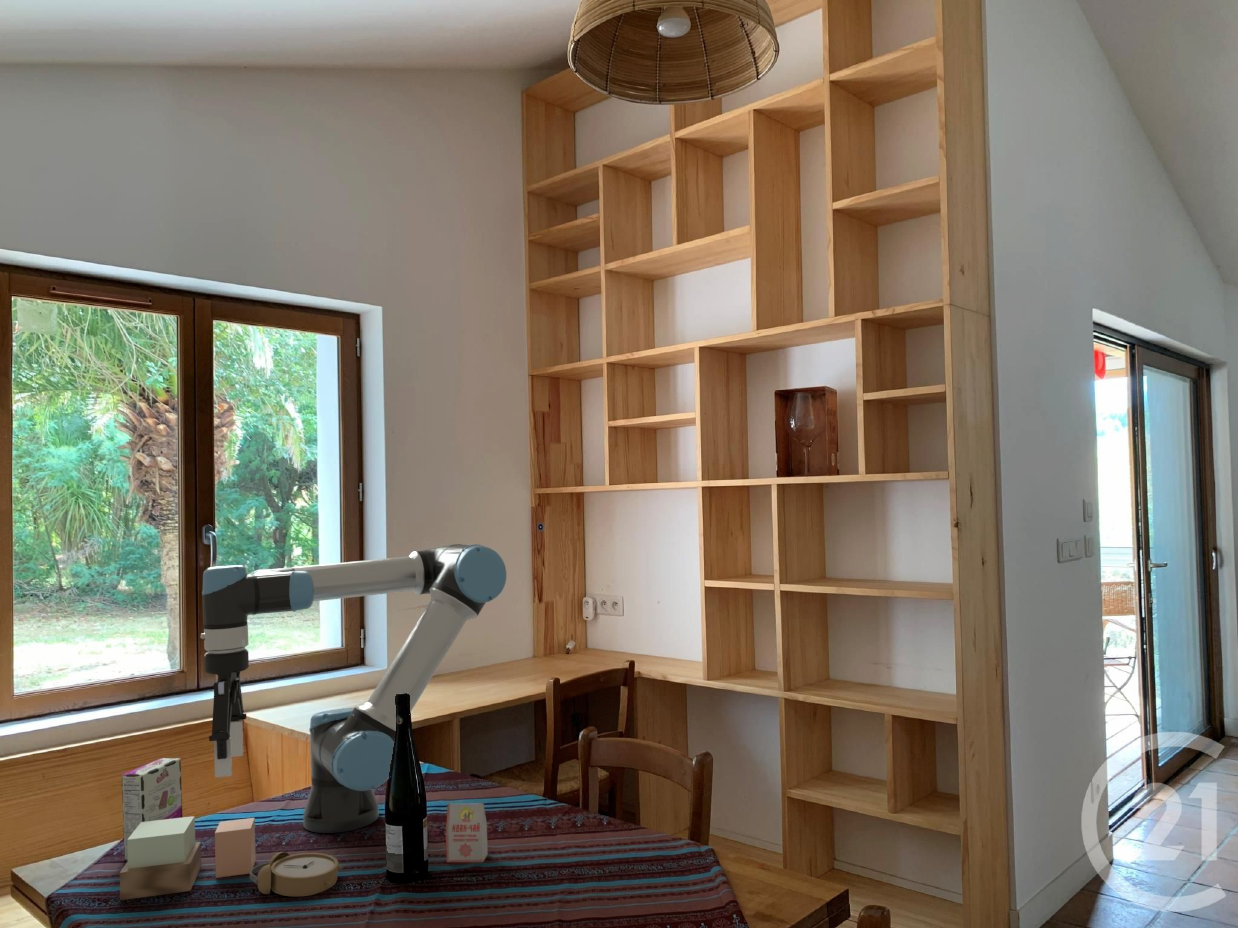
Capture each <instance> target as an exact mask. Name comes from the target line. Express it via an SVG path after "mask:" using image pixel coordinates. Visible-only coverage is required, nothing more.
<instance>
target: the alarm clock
mask: <svg viewBox="0 0 1238 928" xmlns="http://www.w3.org/2000/svg"><path fill="white" fill-rule="evenodd" d="M341 869H344V866H343V865H339V861H338V859H337V858H336V857H334V856H333V855H330V854H326V853H321V852H303V853H295V854H291V855H290V854H289V853H288V852H285V851H280V852H277V853H275V854H274V855H273V856H271V858H270V859H269V861H268V862H264V863H260V864H257V865H254V867H253V868H252V869H251V870H250V873H249V879H250V881H252V882H253V883H254V884H256V885H257V888H258V890H259V892H261V893H262V894H263V895H270V893H271V891H272V892H274V893H275V894H278V895H280V896H287V897H306V896H307V897H308V896H312V895H316V894H318V893H319V894H320V893H323V892H325V891H327V890H328V889H330V888H332V887H333V886H334V885H335V884H337V880H338V871H339V870H341ZM258 871H259V872H258ZM257 872H258V874H257V876H256V875H255V873H257ZM261 893H260V894H261Z"/></svg>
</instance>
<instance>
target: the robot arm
mask: <svg viewBox="0 0 1238 928" xmlns="http://www.w3.org/2000/svg"><path fill="white" fill-rule="evenodd" d="M506 581H507V569H506V565H505V562H504V560H503V558H502V557H501V556H500V554H499V553H498V552H497V551H496V550H494V549H492V548H490V547H487V546H484V545H481V544H460V543H458V544H455V543H454V544H450V545H449V544H448V545H444V546H441V547H437V548H430V549H423V550H415V551H412V552H411V553H410V554H409V555H408V556H401V557H399V556H398V557H388V558H378V559H369V560H368V559H367V560H366V559H365V560H356V561H354V560H353V561H347V562H346V561H344V562H334V563H333V562H332V563H324V564H323V563H322V564H310V565H304V566H303V565H302V566H300V565H299V566H291V567H282V568H270V567H269V568H268V567H266V568H265V567H264V568H259V569H257V570H255V571H252V572H251V573H250V574H248V572H247V569H246V567H245V565H241V564H237V565H235V564H234V565H233V564H232V565H218V566H211V567H207V568H206V569H205V570H204V571H203V574H202V590H201V595H202V616H203V617H202V619H203V621H202V622H203V633H200V636H199V637H200V639H203V640H204V641H203V643H204V644H203V645H204V650H205V651H206V652H205V654H204V655H203V658H204V665H203V666H204V673H206V674H208V675H216V676H217V680H216V682H214V683H213V685H212V686H213V703H212V704H213V706H212V708H213V709H212V710H213V711H212V721H211V723H212V726H211V735H209V736H208V741H209V742H213V748H214V749H213V750H214V751H213V754H214V758H213V759H214V778H223V777H232V776H233V761H232V758H233V757H242V756H244V738H243V737H244V736H243V735H244V734H243V729H244V728H243V727H244V726H243V721H244V720H247V713H244V712H245V710H244V702H243V695H242V685H241V672H243V671H247V670H248V668H249V667H250V663H249V662H250V661H249V658H250V657H249V650H248V649H247V646H249V624H248V616H250V615H252V616H254V615H260V614H261V615H263V614H272V613H274V614H275V613H284V612H293V613H295V612H296V611H302V610H308V609H310V608H311V607H312V605H313V603H314V602H319V601H322V602H323V601H330V600H338V599H339V600H340V599H349V598H357V597H366V596H375V595H383V594H384V595H387V594H394V593H403V592H412V593H413V594H415V595H416V596H417V595H427V594H428V595H430V602H428V605H427V606H426V608H425V609H424V611H423V612H422V614H421V615H420V617H419V619H418V620H417V622H416V623H415V626H414V627H413V629H412V630H411V632H410V634H409V635H408V636H407V638H406V639H405V641H404V642H403V644H402V645H401V647H400V649H399V651H398V652H397V654H396V656H395V657H394V658H393V660H392V661H391V664H389V666H388V668H387V670H386V671H385V673H384V674H383V676H382V678H380V681H379V682H378V684H377V685H376V687H375V689H374V691H373V692H372V694H371V695H370V697H369V698H368V700H367V701H365V703H361V704H359V705H355V706H354V707H345V708H335V709H330V710H324V711H319V712H316V713H314V714H312V716H311V718H310V726H309V729H308V730H309V735H310V736H309V737H310V738H309V739H310V741H309V742H310V773H311V774H310V777H311V778H310V779H311V781H310V782H311V787H310V791H309V795H308V798H307V801H306V804H305V806H304V811H303V817H302V820H303V823H302V825H303V828H304V829H305V830H307V831H309V832H313V833H318V834H319V833H320V834H333V833H334V834H335V833H342V832H343V833H344V832H350V831H355V830H358V829H361V828H363V827H366V826H369V825H371V824H373V823H375V822H376V821H377V820H378V819H379V815H380V814H379V813H380V812H379V808H380V807H379V803H378V799H377V798H376V797H377V796H376V795H375V792H374V789H376V788H378V787H380V786H382V785H383V784H384V783H385V782H387V781H388V780H389V779H390V778H389V772H390V764H391V760H392V754H393V747H394V743H395V731H396V705H395V696H396V694H399V693H407V694H409V695H410V714H411V712H412V710H413V709H414V707H416V704H417V703H418V701H419V700H420V698H421V696H422V695H423V693H424V691H425V690H426V688H427V686H428V684H429V683H430V681H431V679H432V678H433V677H434V674H435V673H436V671H437V670H438V669H439V666H440V665H441V663H442V662H443V660H444V658H445V657H446V655H447V653H448V651H449V650H450V648H451V646H452V645H453V643H454V642H455V640H456V638H457V636H458V635H459V634H460V632H461V630H462V629H463V627H464V625H465V624H466V622H467V621H470V620H473V619H476V618H478V616H479V614H480V613H481V611H482V610H483V608H484V606H485V605H486V603H489V602H491V601H493V600H495V599H496V598H497V597H499V596H500V594H501V593H502V592H503V590H504V588H505V585H506V584H507V583H506Z"/></svg>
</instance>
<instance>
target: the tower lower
mask: <svg viewBox="0 0 1238 928" xmlns="http://www.w3.org/2000/svg"><path fill="white" fill-rule="evenodd" d="M201 869H202V842H201V841H195V845H194V847H193V848H192V850H191V852H190V854H189V855H188V857H187V859H186V860H185V862H181V863H173V864H164V865H156V866H148V867H140V868H132V869H128V860H126V862H125V865H123V867H122V868H121V870H120V871H119V901H123V900H124V901H125V900H132V899H139V898H148V897H154V896H160V895H169V894H177V893H185V892H190V891H191V890H192V888H193V886H194V884H195V882H196V879H197V878H198V875H199V873H200V871H201Z"/></svg>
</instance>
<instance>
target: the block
mask: <svg viewBox="0 0 1238 928" xmlns="http://www.w3.org/2000/svg"><path fill="white" fill-rule="evenodd" d="M255 819H256V818H255V817H250V818H242V819H241V818H240V819H233V820H225V821H219V823H218V826H217V827H216V830H215V831H214V846H215V847H214V848H215V849H214V851H215V852H214V853H215V855H214V856H215V859H214V860H215V878H216V879H218V878H219V879H220V878H224V877H225V878H226V877H231V876H241V875H250V870H251V869H252V868H253V867H255V863H256V824H255V823H256V822H255Z"/></svg>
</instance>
